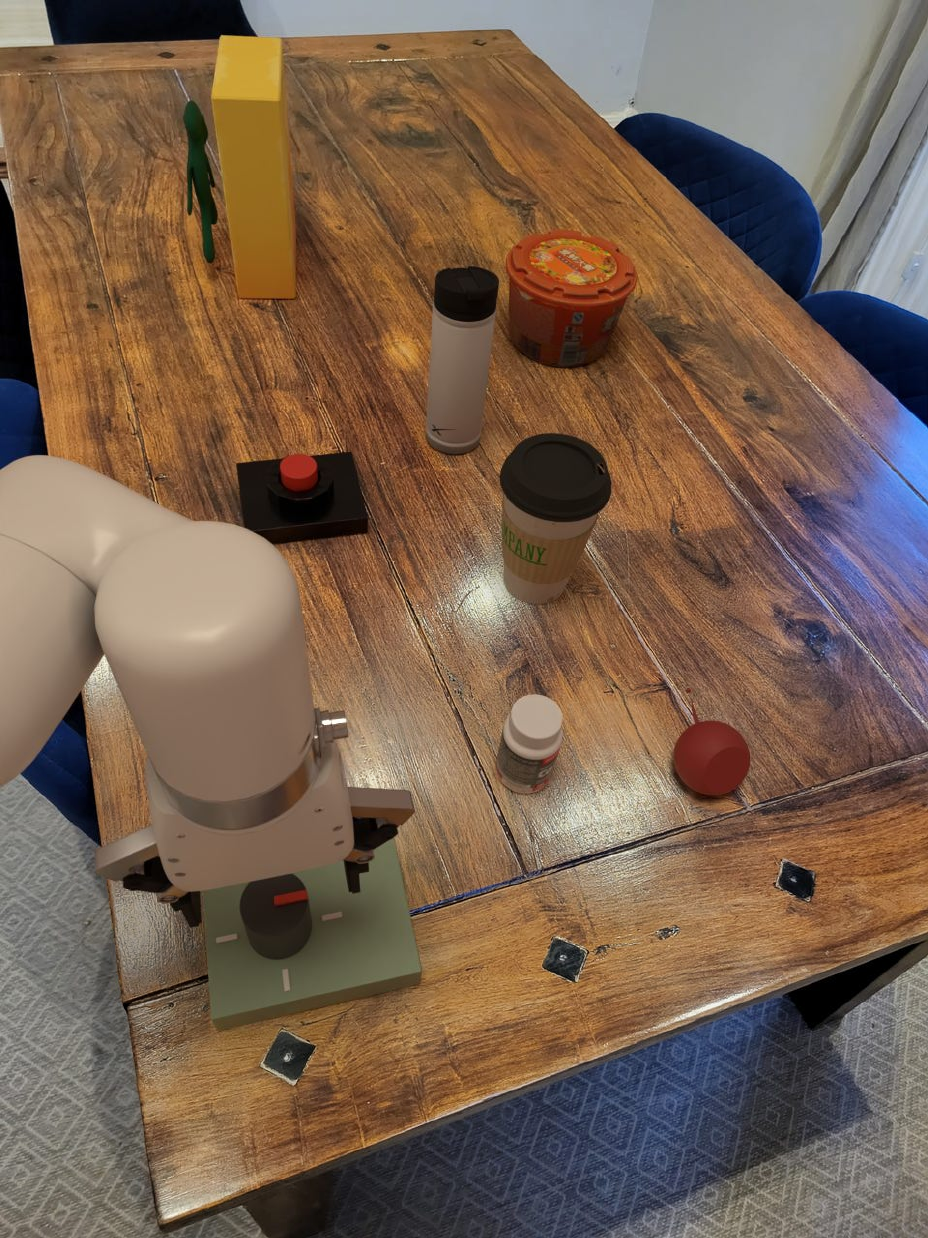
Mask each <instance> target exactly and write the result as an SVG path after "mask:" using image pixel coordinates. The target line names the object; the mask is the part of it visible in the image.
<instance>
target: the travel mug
mask: <svg viewBox="0 0 928 1238" xmlns="http://www.w3.org/2000/svg"><path fill="white" fill-rule="evenodd" d="M499 286H500V278H499V277H498V275H496V273H494V272H492V271H491V270H489V269H487V268H484V267H481V266H476V265H474V266H473V265H467V267H452V268H451V267H446V268H442V269H441V270H439V271H438V272H437V273H436V274H435V276H434V289H433V290H434V293H433V301H432V313H431V314H432V316H431V332H430V333H431V334H430V352H429V365H428V366H429V367H428V385H427V402H426V418H425V435H424V436H425V439H426V441H427V443H428V444H429V445H430V446H431V447H432V449H433V448H434V449H435V450H436V451H438V452H441V453H443V454H447V455H463V454H467V453H469V452H472V451H473V450H475V449H476V448H477V447H478V446H479V444H480V442H481V438H482V430H483V423H484V414H485V406H486V397H487V391H488V380H489V372H490V365H491V357H492V349H493V340H494V334H495V333H494V331H495V326H496V325H495V324H496V317H497V315H496V314H497V302H498V301H497V300H498V297H499V296H498V294H499Z"/></svg>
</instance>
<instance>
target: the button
mask: <svg viewBox="0 0 928 1238" xmlns="http://www.w3.org/2000/svg"><path fill="white" fill-rule="evenodd" d="M310 456H311V455H308V454H305V453H293V454H290V455H287V457H286V456H285V457H286V458H284V457H283V458H284V459H283V460H282V462H281V464H280V472H281V480H282V483H283V485H284V486H285V487H286V488H288V489H290V490H293V491H306V490H309V489H311V488H312V487H314V486H315V485H316V483H317V481H318V471H317V463H316V461H315V460H314V459H313V458H312V457H310Z"/></svg>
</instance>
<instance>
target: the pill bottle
mask: <svg viewBox="0 0 928 1238" xmlns="http://www.w3.org/2000/svg"><path fill="white" fill-rule="evenodd" d="M563 720H564V718H563V712H562V710H561V708H560V706H559V705H558V704H557V703H556V702H555V701H554V700H553V699H551V698H549V697H548V696H546V695H542V694H537V693H535V694H534V693H533V694H527V695H524V696H521V697H520V698H519V699H518V700H516V701H515V702H514V704H513V705H512V708H511V711H510V714H509V715H508V716H507V718H506V719H505V721H504V724H503V727H502V731H501V736H500V741H499V746H498V751H497V755H496V760H495V772H496V775H497V778H498V780H499V781H500V782H501V783H502V785H503V786H505V787H506V788H507V789H509V790H511V791H512V792H515V793H519V794H527V795H529V794H534V793H536V792H539V791H541V790H542V789H543V788H544V787H546V785H547V784H548V783H549V781H550V779H551V777H552V774H553V771H554V768H555V765H556V762H557V759H558V756H559V753H560V749H561V746H562V744H563V737H564V733H563V728H562V726H563Z"/></svg>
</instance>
